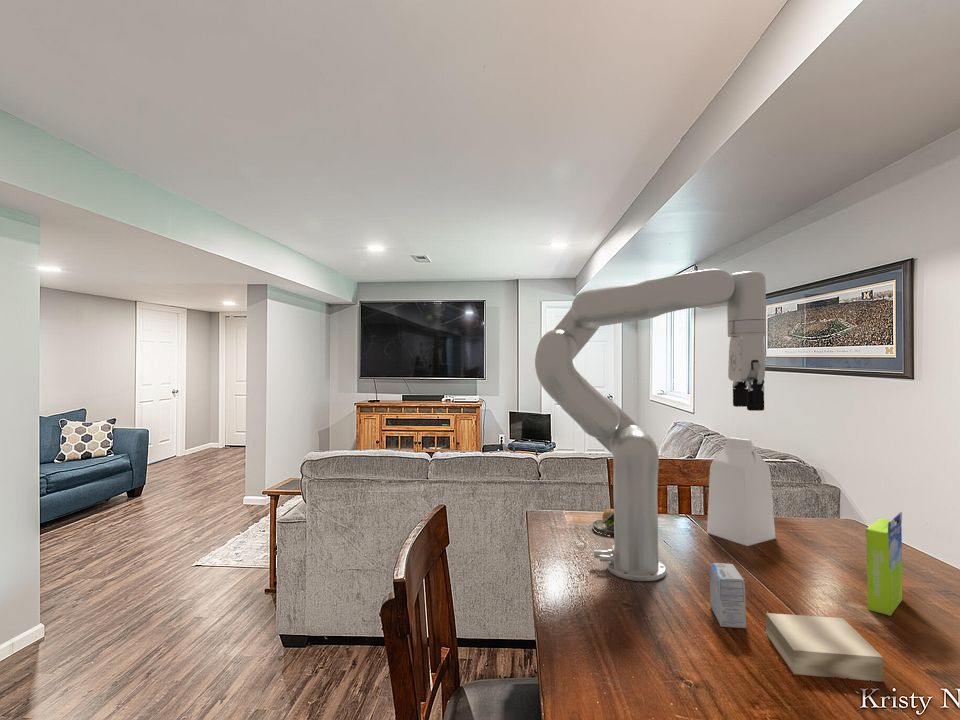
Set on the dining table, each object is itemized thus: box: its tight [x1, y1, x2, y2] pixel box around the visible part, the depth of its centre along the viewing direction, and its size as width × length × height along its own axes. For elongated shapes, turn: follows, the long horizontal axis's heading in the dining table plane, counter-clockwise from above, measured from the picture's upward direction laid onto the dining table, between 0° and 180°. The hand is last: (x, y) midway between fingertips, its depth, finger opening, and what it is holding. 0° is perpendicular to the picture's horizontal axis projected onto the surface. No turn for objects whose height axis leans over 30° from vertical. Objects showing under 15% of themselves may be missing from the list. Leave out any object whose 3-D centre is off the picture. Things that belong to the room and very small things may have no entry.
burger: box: [592, 503, 614, 537], centre depth 149 cm, size 12×12×8 cm
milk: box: [706, 436, 776, 547], centre depth 143 cm, size 12×12×26 cm
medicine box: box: [709, 562, 747, 629], centre depth 98 cm, size 8×4×9 cm, turn 168°
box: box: [865, 511, 903, 617], centre depth 102 cm, size 10×4×17 cm, turn 132°
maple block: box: [765, 612, 884, 683], centre depth 85 cm, size 12×12×4 cm
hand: (747, 408), depth 116 cm, fingers open, 9 cm apart
